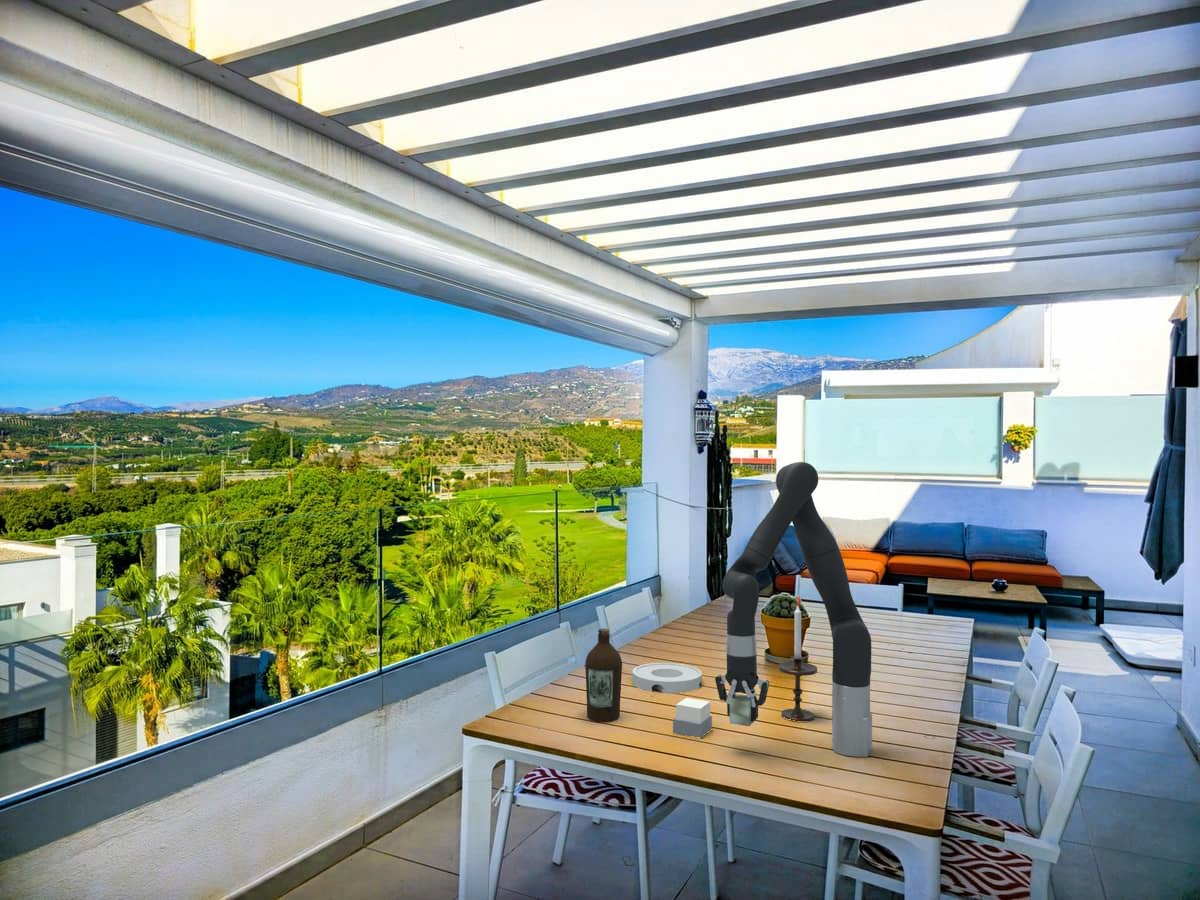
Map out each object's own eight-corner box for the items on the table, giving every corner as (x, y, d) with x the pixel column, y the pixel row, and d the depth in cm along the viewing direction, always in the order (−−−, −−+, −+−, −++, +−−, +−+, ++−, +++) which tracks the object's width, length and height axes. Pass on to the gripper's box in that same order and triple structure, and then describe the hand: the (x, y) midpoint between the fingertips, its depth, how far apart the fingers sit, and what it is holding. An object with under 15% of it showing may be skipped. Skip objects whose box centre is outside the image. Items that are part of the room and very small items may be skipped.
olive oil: (589, 709, 228) (590, 624, 229) (625, 712, 226) (625, 626, 226) (580, 721, 218) (581, 632, 218) (617, 724, 216) (618, 634, 216)
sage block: (755, 720, 197) (755, 696, 197) (749, 726, 192) (748, 702, 192) (736, 717, 199) (736, 694, 199) (729, 723, 195) (729, 699, 195)
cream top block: (710, 716, 212) (710, 701, 212) (700, 723, 206) (700, 708, 206) (686, 712, 215) (686, 697, 215) (676, 719, 209) (676, 704, 209)
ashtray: (652, 697, 242) (652, 684, 242) (620, 678, 263) (620, 666, 263) (715, 689, 251) (715, 676, 251) (679, 671, 272) (679, 660, 272)
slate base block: (711, 730, 212) (712, 716, 212) (700, 739, 205) (700, 724, 205) (685, 725, 216) (685, 711, 216) (672, 734, 209) (673, 719, 209)
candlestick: (802, 709, 230) (802, 591, 231) (825, 720, 220) (825, 597, 220) (770, 713, 226) (771, 593, 227) (792, 725, 216) (793, 599, 217)
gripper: (773, 651, 196) (774, 719, 195) (719, 645, 203) (720, 711, 202) (764, 658, 189) (766, 728, 189) (709, 652, 196) (710, 719, 196)
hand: (742, 719), depth 196 cm, fingers closed on sage block, 5 cm apart
